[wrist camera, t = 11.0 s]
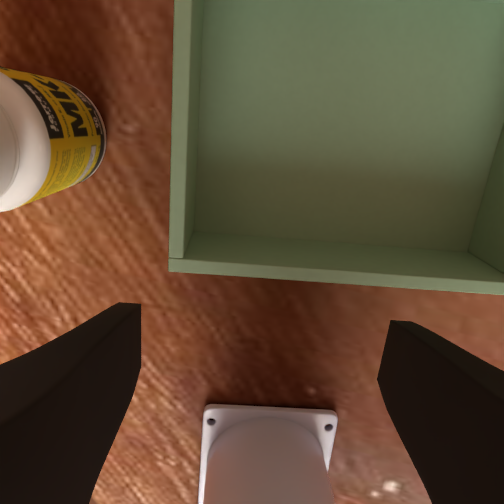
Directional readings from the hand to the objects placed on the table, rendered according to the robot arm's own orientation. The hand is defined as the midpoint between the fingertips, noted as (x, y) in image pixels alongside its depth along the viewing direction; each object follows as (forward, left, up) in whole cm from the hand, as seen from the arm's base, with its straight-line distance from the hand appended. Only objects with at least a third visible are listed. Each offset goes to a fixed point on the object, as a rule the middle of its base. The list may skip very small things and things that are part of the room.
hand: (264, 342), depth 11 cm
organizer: (+6, -4, -9) cm, 12 cm away
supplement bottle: (+5, +10, -10) cm, 14 cm away
